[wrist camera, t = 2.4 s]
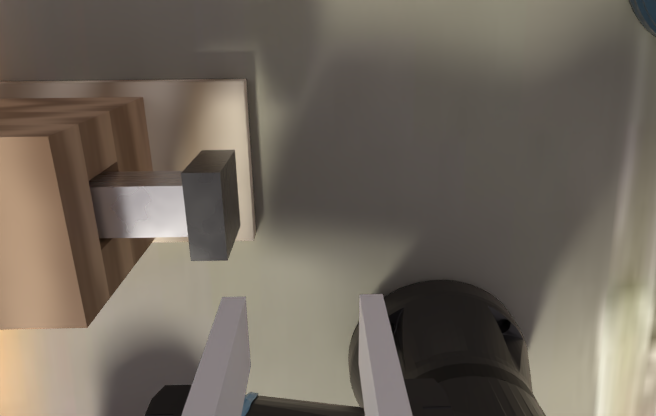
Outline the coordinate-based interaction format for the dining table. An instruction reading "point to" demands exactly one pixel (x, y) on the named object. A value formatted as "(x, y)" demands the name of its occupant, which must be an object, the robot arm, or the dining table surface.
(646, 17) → the canister
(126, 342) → the dining table surface
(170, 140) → the block
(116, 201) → the shaft
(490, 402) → the robot arm
